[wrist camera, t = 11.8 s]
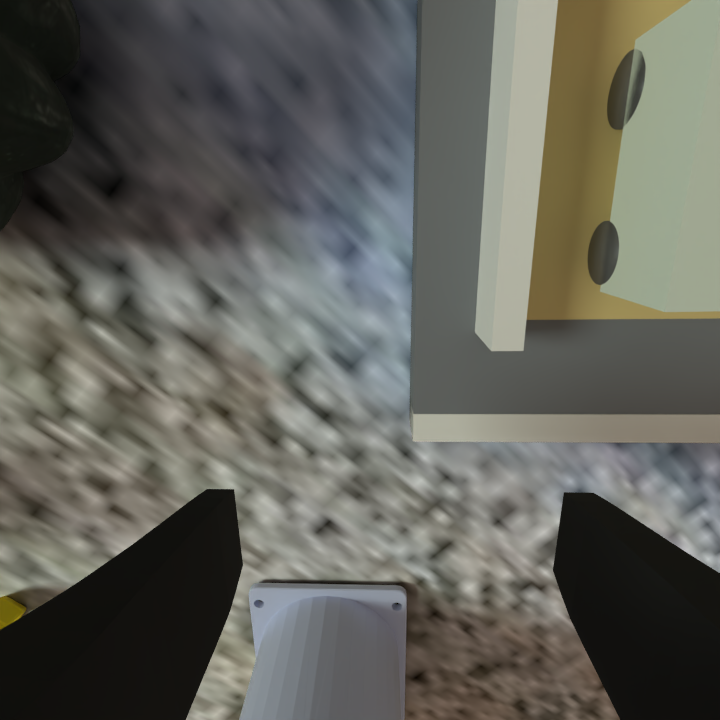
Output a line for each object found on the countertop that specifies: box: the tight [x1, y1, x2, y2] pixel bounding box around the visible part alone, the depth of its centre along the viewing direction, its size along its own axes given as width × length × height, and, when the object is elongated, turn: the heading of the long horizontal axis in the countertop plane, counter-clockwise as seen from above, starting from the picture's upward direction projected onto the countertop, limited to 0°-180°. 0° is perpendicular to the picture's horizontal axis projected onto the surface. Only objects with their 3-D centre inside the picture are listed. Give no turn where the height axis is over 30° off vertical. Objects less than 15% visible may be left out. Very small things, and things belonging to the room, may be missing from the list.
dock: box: [410, 0, 720, 443], centre depth 14 cm, size 18×16×4 cm
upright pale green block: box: [588, 0, 720, 312], centre depth 12 cm, size 7×4×5 cm, turn 1°
